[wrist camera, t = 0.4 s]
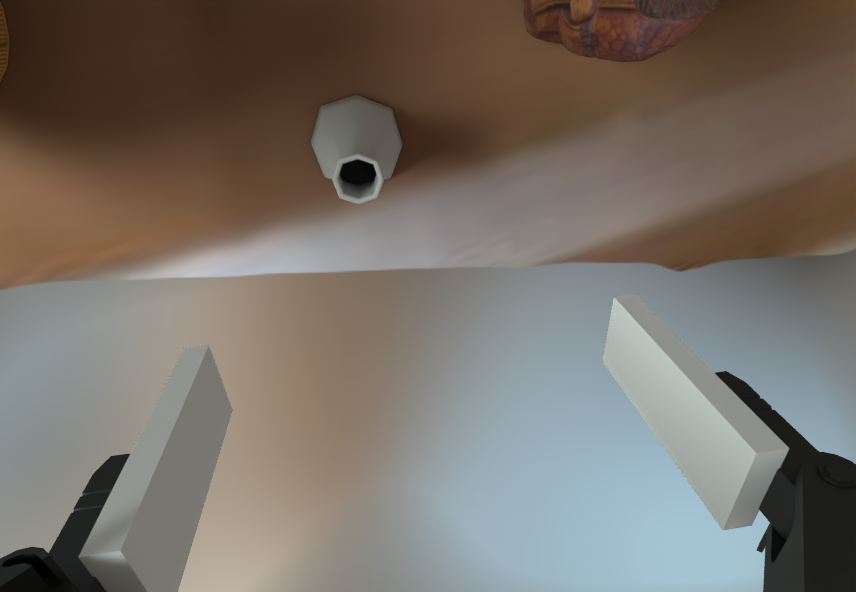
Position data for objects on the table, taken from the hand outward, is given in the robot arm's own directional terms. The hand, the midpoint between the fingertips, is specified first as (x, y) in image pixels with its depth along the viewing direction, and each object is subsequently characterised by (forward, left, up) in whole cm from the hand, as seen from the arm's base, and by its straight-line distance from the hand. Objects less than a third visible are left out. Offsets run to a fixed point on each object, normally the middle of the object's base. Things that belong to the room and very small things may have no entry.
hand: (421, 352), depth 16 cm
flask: (-1, -2, -27) cm, 27 cm away
